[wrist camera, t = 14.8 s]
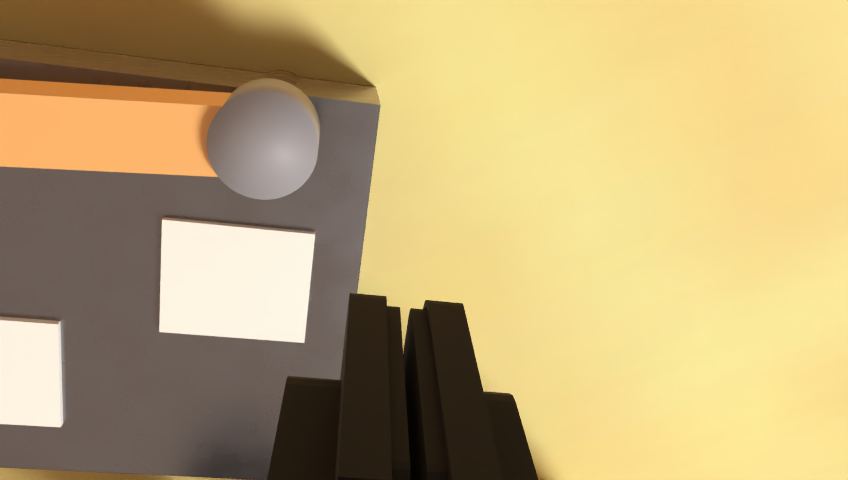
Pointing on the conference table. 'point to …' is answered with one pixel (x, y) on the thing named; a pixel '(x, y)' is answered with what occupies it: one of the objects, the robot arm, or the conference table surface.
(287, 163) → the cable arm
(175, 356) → the server box
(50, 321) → the label
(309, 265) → the label
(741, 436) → the conference table surface
